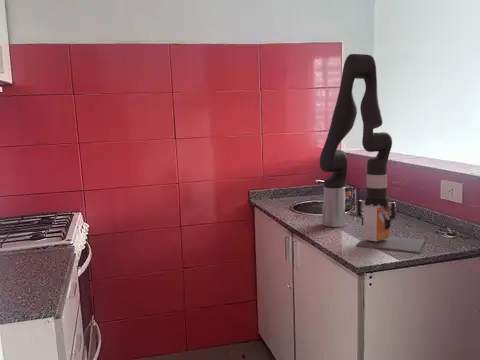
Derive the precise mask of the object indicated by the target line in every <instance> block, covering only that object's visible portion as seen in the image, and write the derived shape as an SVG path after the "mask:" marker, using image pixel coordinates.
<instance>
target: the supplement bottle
mask: <svg viewBox="0 0 480 360" xmlns="http://www.w3.org/2000/svg"><path fill="white" fill-rule="evenodd" d="M351 209H352V192H351V190H350V186H345V211H347V210H351Z"/></svg>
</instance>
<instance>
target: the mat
mask: <svg viewBox="0 0 480 360" xmlns="http://www.w3.org/2000/svg"><path fill="white" fill-rule="evenodd" d="M425 242H426V239H422V238H419V239H418V238H412V237H411V238H410V237H403V236H402V237H400V236H392V235H391V236H390V235H389V238H386V239H383V240H380V241H377V242H375V241H371V240H366V239H363V237H362V238H361V239H360V240H359V241H358V243H356V247H359V248H370V249H377V250H378V249H379V250H385V251H386V250H388V251H396V252H405V253H412V254H414V253H415V254H420V252H421V250H422V249H423V246H424V244H425Z"/></svg>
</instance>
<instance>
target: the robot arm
mask: <svg viewBox="0 0 480 360" xmlns="http://www.w3.org/2000/svg"><path fill="white" fill-rule="evenodd" d="M355 79H358V80H361V79H362V80H363V81H364V85H365V91H364V93H363V96H362V99H361V102H360V109H359V110H360V115H361V121H362V124H363V125H362V139H361V141H362V142H361V143H362V147H363V149H364V150H365V151H366V152H367V153H373V152H374V153H376V152H377V154H376V155H375V156H374V157H371V158H369V159H368V160H367V162H366V184H365V185H366V187H365V189H366V190H365V192H366V193H365V200H362V199H359V200H358V201H357V205H356V208H357V209H356V210H357V215H358V216H361V217H360V218H361V226H362V227H363V213H362V208H363V206H365V205H370V206H378V207H382V206H383V207H384V209H385V208H386V207H387V206H388V205H389V209H391V214H390V212H389V213H388V212H387V211H386V212H385V210H384V209H383V215H384V216H385V217H386V229H387V230H388V229H389V230H390V228H391V225H392V224H391V222H392V220H391V219H394V218H395V217H396V218H397V203H396V202H395V201H393V202H390V201H388V176H387V171H388V167H387V166H388V160H389V158H390V153H391V149H392V147H393V138H392V135H390V134H389V132H384V131H383V132H382V131H381V132H374V130H375V129H378V128H379V127H382V125H383V116H382V112H381V107H380V103H379V96H378V95H379V94H378V77H377V64H376V60H375V58H374V56H373V55H370V54H360V53H350V54H349V55H347V56H346V58H345V60H344V63H343V67H342V72H341V80H340V85H339V91H338V95H337V98H336V103H335V106H334V109H333V114H332V118H331V122H330V126H329V130H328V133H327V137H326V140H325V143H324V145H323V147H322V149H321V150H322V151H321V152H320V156H319V163H318V164H319V168H320V170H321V171H322V172H324V173H332V174H331V175H329V177H327V178H325V180H324V181H323V203H322V207H321V208H322V209H321V211H322V212H321V213H322V215H321V217H322V218H321V220H322V221H321V222H322V226H325V227H329V228H341V227H344V226H346V210H345V187H346V182H347V179H348V178H347V176H348V157H347V156H348V155H347V154H346V152H345V151H344V150H342V149H338V147H339V145H340V144H341V142H342V141H343V140H344V138H345V137H346V136H348V134H349V133H350V132H351V130H352V128H353V127H354V126H355V121H356V119H357V115H358V107H357V103H356V100H355V96H354V93H353V89H354V83H355ZM358 216H357V217H358Z"/></svg>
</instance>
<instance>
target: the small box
mask: <svg viewBox="0 0 480 360" xmlns="http://www.w3.org/2000/svg"><path fill="white" fill-rule="evenodd" d="M362 208H363V226H362V238H363V239H366V240H371V241H375V242H377V241H380V240H383V239H386V238H389V236H390V228H389V229H388V230H387V229H386V217H385V216H384V215H383V209H384V207H383V206H382V207H378V206H370V205H365V204H364V205H363V206H362ZM384 210H385V212H386V211H387V212H388V213H389V214H390V207H389V205H388V206H387V207H386V208H385V209H384Z"/></svg>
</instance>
